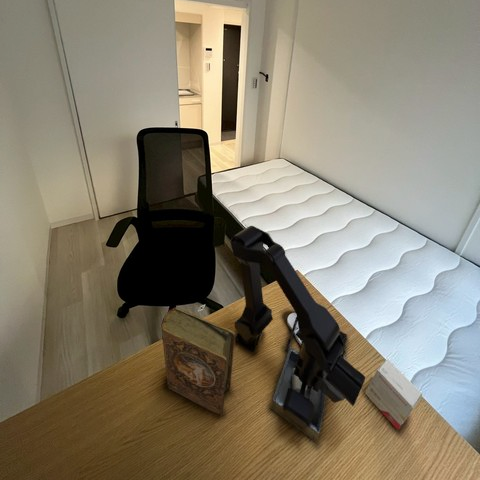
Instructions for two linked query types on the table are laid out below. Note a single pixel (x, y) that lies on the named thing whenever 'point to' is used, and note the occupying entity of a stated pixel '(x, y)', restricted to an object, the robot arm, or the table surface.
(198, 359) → the book
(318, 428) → the sink
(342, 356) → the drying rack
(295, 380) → the usb wall charger
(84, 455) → the table surface
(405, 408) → the ink box
